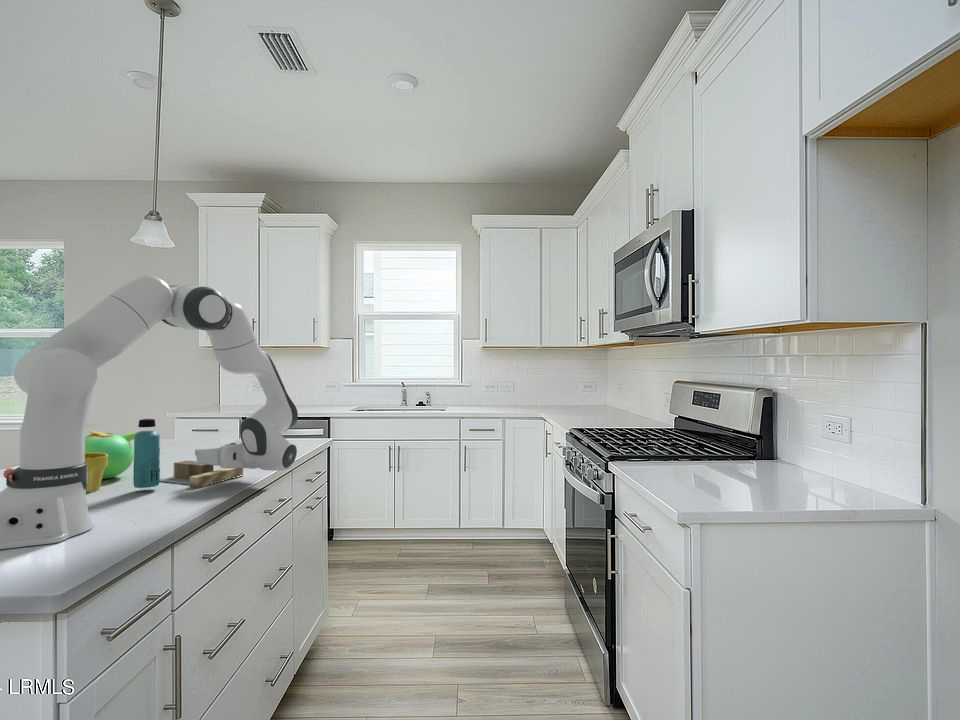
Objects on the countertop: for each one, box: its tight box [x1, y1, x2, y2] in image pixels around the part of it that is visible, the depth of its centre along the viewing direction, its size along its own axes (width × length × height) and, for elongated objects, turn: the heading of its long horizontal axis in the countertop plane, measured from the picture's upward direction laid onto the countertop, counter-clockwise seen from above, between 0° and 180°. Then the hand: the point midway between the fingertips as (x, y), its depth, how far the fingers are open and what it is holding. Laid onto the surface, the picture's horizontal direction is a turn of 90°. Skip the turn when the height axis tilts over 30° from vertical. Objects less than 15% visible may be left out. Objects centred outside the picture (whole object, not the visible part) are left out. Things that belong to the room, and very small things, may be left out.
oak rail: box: [188, 467, 244, 489], centre depth 171 cm, size 18×3×3 cm, turn 161°
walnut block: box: [172, 459, 214, 479], centre depth 174 cm, size 4×4×11 cm
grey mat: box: [159, 476, 190, 486], centre depth 174 cm, size 14×14×1 cm
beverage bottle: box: [132, 418, 161, 489], centre depth 157 cm, size 6×7×20 cm
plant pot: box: [85, 453, 108, 493], centre depth 156 cm, size 10×10×10 cm
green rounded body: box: [85, 430, 139, 480], centre depth 172 cm, size 18×17×15 cm
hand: (209, 449), depth 172 cm, fingers open, 8 cm apart
